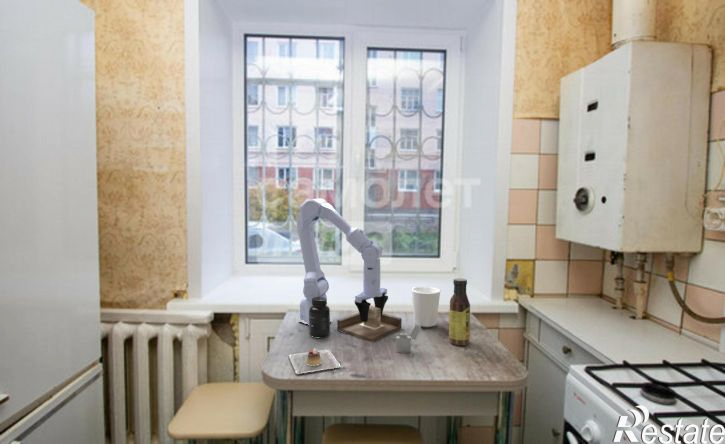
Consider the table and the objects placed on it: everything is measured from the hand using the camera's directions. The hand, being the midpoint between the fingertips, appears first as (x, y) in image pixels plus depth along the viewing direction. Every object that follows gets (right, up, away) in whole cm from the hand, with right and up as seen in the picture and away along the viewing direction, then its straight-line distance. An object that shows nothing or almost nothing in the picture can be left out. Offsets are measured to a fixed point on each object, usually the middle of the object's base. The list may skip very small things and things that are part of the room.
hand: (371, 318), depth 131 cm
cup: (+19, -3, +4) cm, 20 cm away
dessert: (-16, -6, -26) cm, 31 cm away
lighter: (+10, -5, -18) cm, 21 cm away
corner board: (-1, -4, 0) cm, 4 cm away
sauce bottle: (+27, -5, -11) cm, 30 cm away
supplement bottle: (-17, -4, -5) cm, 18 cm away
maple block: (0, -2, 0) cm, 2 cm away
